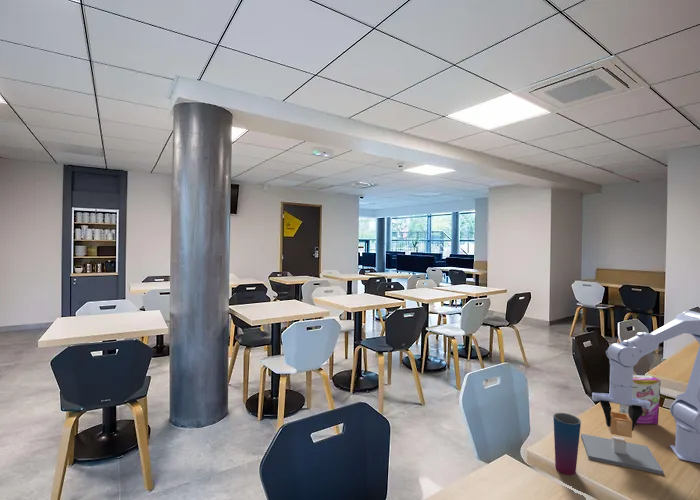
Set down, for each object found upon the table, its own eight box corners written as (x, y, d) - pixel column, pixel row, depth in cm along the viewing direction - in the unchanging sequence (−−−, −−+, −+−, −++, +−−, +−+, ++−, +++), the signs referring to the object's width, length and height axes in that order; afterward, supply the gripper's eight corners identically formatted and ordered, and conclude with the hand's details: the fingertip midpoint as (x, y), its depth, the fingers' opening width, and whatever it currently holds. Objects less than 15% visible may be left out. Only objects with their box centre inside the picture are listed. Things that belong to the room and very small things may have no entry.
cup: (552, 472, 106) (553, 420, 106) (551, 460, 112) (553, 410, 112) (580, 480, 103) (581, 426, 102) (578, 466, 109) (580, 416, 108)
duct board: (647, 449, 118) (647, 435, 118) (663, 474, 106) (663, 459, 106) (581, 436, 126) (581, 423, 126) (588, 458, 113) (588, 444, 113)
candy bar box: (629, 425, 134) (630, 379, 133) (618, 418, 139) (620, 374, 138) (659, 425, 134) (661, 379, 134) (648, 418, 139) (649, 374, 139)
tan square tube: (607, 425, 119) (607, 410, 119) (627, 429, 117) (627, 413, 117) (613, 439, 111) (614, 423, 111) (635, 444, 109) (635, 427, 109)
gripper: (646, 382, 116) (644, 426, 116) (590, 375, 122) (589, 416, 122) (653, 391, 109) (652, 437, 110) (595, 383, 115) (593, 426, 116)
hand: (619, 427), depth 115 cm, fingers closed on tan square tube, 5 cm apart
